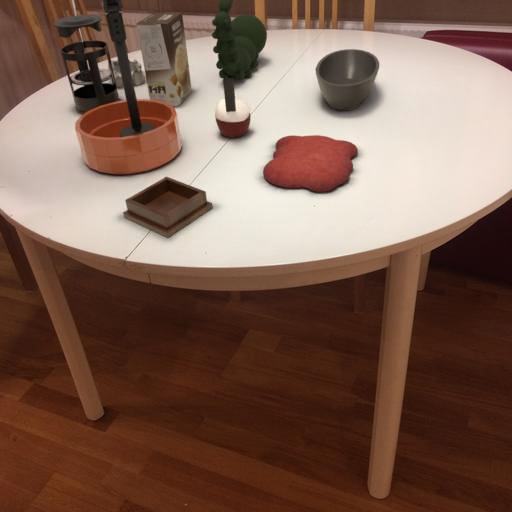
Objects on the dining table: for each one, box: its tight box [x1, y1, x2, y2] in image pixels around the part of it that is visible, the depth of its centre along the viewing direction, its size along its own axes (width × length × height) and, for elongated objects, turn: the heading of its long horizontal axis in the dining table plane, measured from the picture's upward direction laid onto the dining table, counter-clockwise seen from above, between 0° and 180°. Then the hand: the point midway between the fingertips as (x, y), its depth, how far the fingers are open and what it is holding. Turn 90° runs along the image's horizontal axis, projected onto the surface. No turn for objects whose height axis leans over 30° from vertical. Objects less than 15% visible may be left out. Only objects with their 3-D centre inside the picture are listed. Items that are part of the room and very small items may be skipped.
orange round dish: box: [74, 98, 183, 175], centre depth 89 cm, size 17×17×6 cm
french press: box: [53, 0, 122, 115], centre depth 103 cm, size 12×9×23 cm
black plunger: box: [113, 40, 156, 137], centre depth 82 cm, size 6×6×22 cm
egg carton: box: [107, 59, 145, 89], centre depth 121 cm, size 11×8×4 cm
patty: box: [262, 134, 358, 193], centre depth 84 cm, size 18×14×2 cm
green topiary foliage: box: [211, 0, 268, 80], centre depth 117 cm, size 9×19×25 cm
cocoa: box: [214, 77, 252, 139], centre depth 91 cm, size 10×6×12 cm, turn 158°
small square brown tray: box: [122, 176, 214, 238], centre depth 74 cm, size 9×9×3 cm
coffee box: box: [136, 11, 193, 108], centre depth 106 cm, size 9×6×16 cm
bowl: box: [315, 48, 380, 112], centre depth 104 cm, size 12×22×6 cm, turn 167°
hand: (118, 38), depth 78 cm, fingers closed on black plunger
